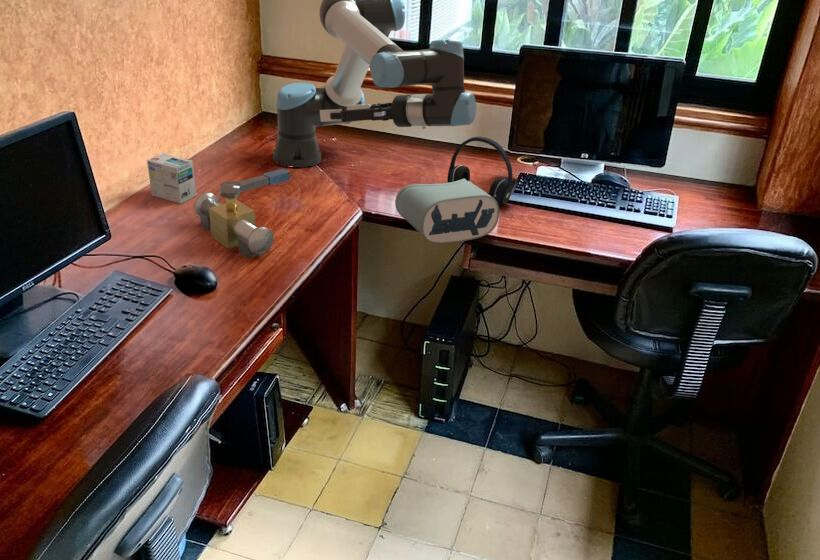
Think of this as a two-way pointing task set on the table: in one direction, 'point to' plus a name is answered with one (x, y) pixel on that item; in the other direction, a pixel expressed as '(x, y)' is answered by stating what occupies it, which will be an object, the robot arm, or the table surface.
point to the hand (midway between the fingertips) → (334, 113)
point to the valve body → (233, 225)
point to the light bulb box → (171, 178)
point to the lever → (253, 183)
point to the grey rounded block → (448, 211)
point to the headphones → (499, 187)
